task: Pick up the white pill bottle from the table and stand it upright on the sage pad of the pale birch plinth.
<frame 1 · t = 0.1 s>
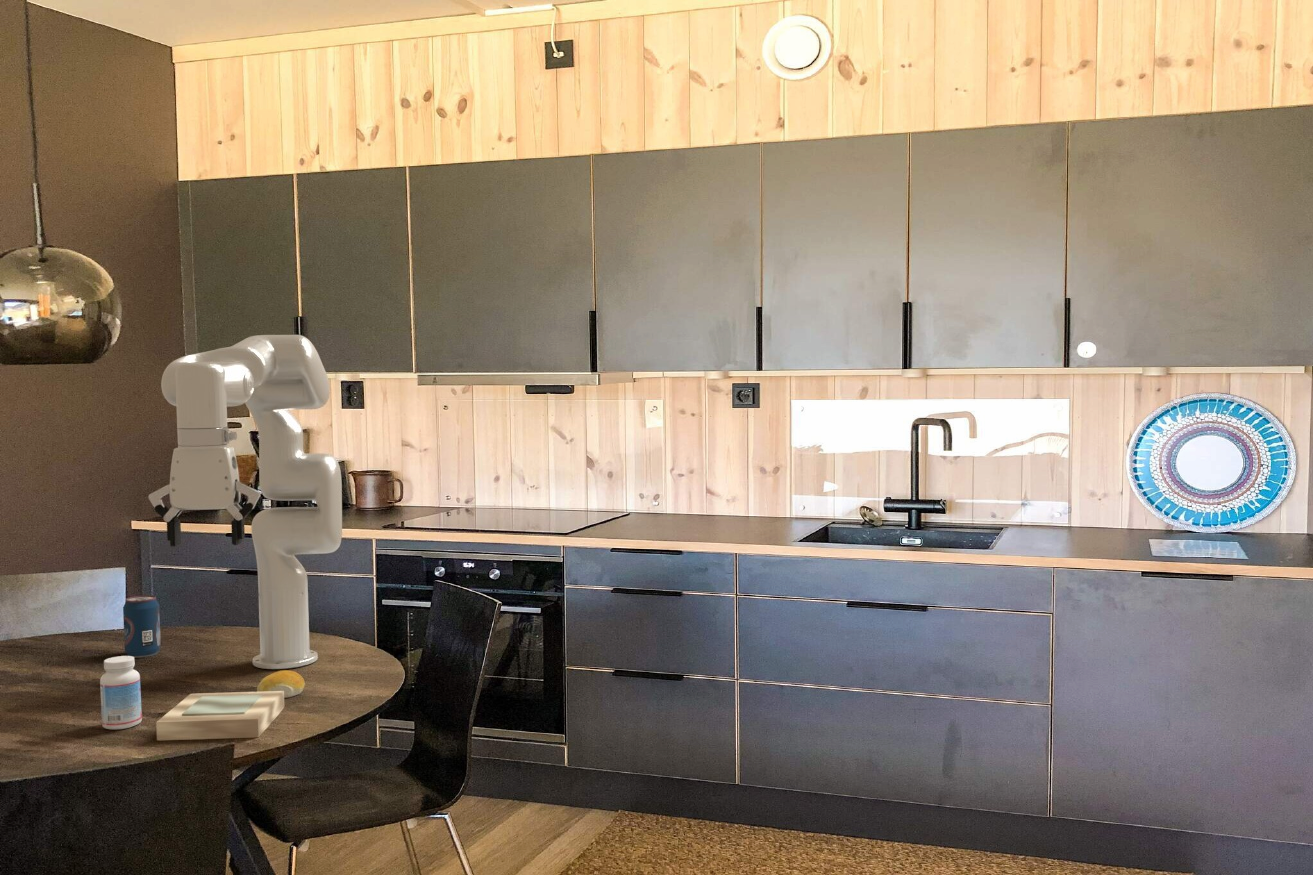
hand: (206, 544, 182), 31 cm above the table, fingers open, 9 cm apart
pill bottle: (122, 726, 189), on the table
birch plinth: (223, 723, 189), on the table
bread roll: (282, 694, 207), on the table
soda can: (143, 655, 236), on the table
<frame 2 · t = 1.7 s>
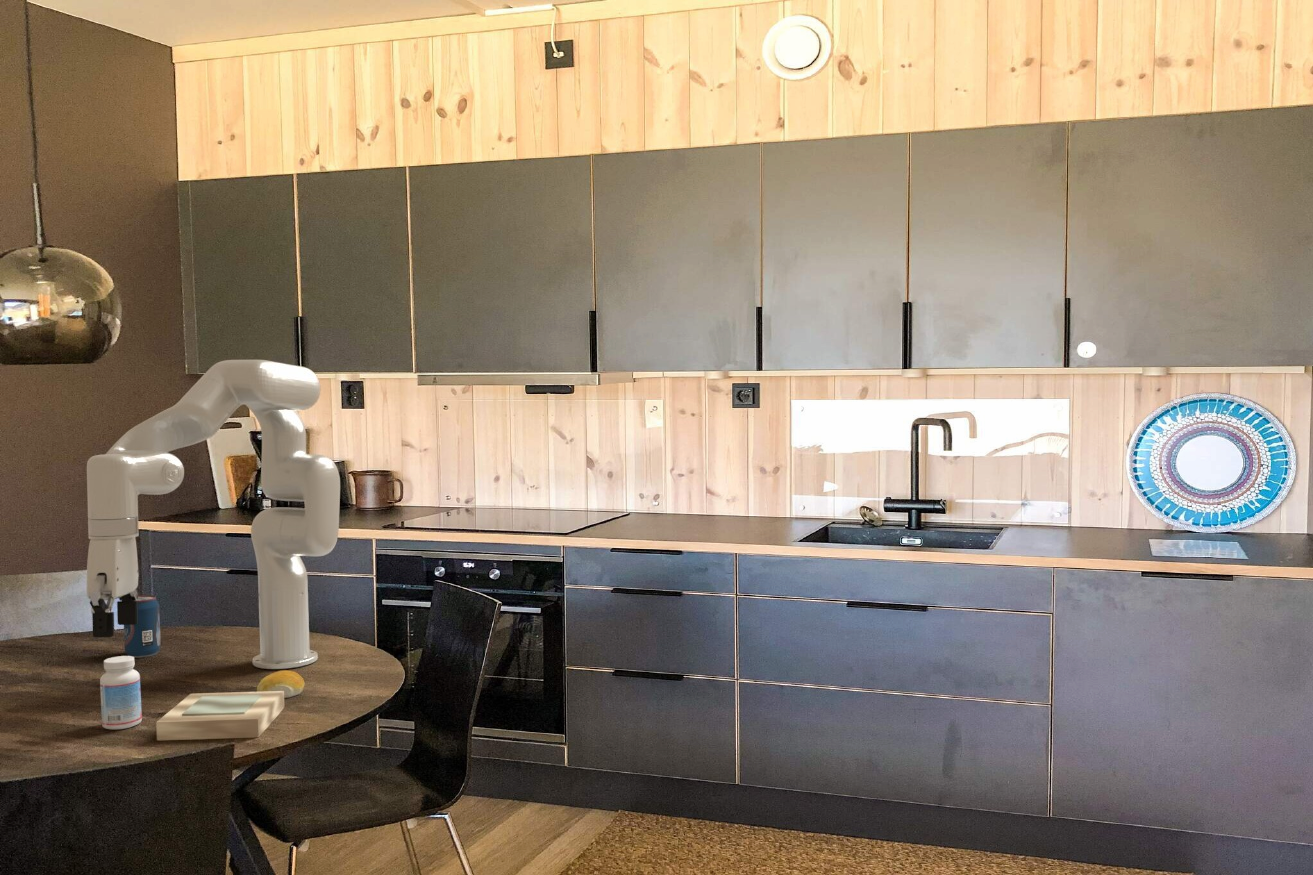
hand: (116, 630, 187), 16 cm above the table, fingers open, 9 cm apart
nothing on the table moved.
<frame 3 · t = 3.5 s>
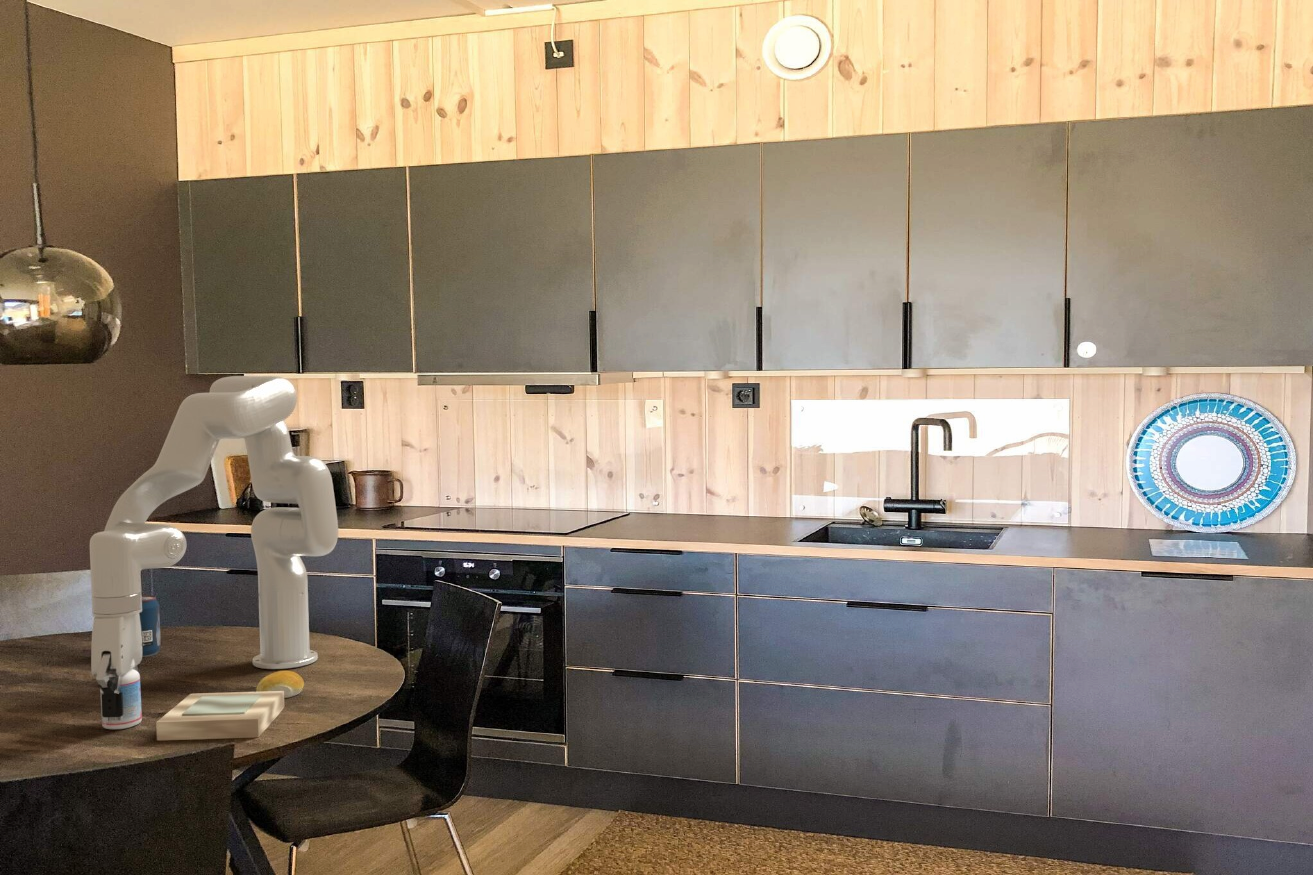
hand: (121, 709, 188), 3 cm above the table, fingers closed on pill bottle, 6 cm apart
pill bottle: (122, 725, 189), on the table, touching gripper
everything else where it was.
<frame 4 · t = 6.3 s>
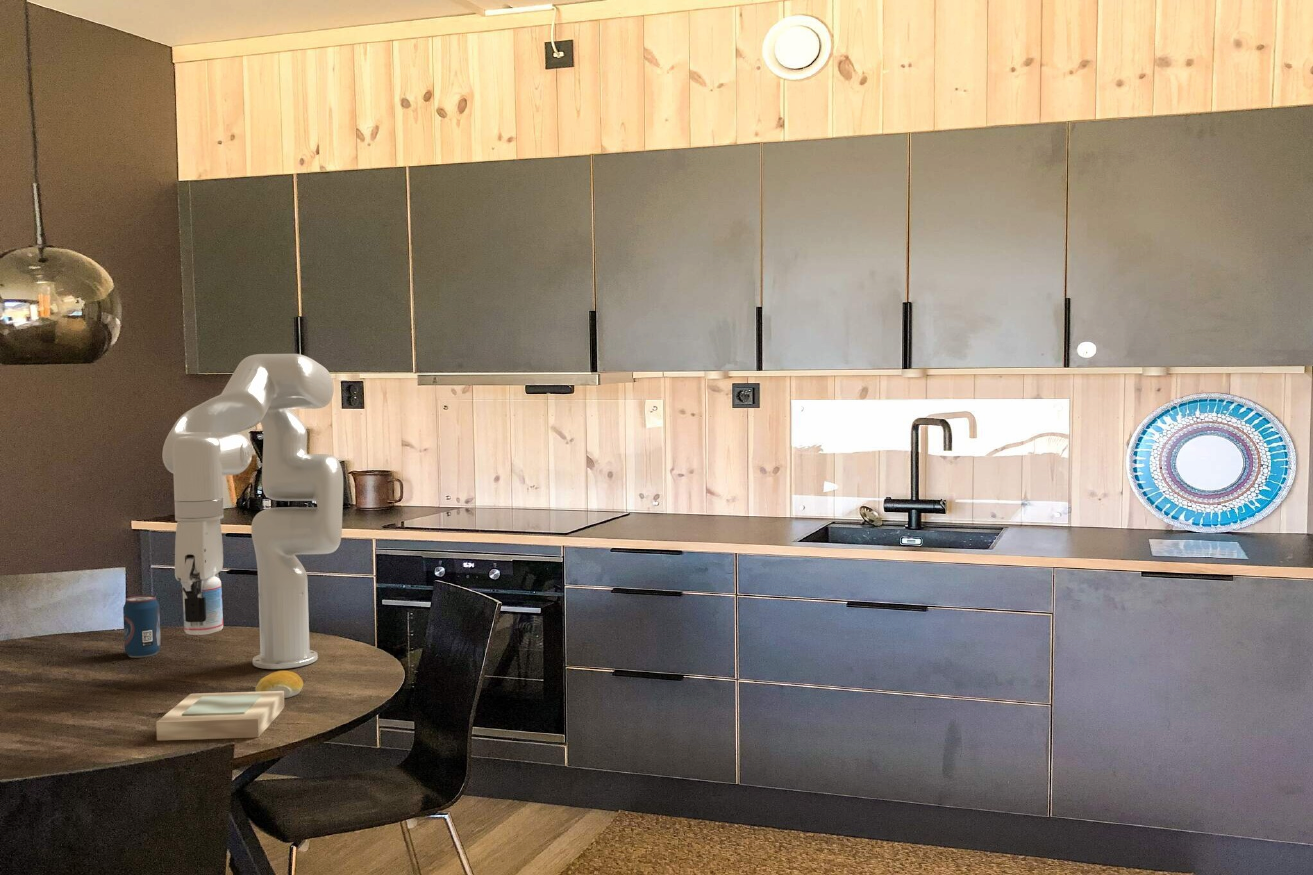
hand: (203, 615, 188), 18 cm above the table, fingers closed on pill bottle, 6 cm apart
pill bottle: (203, 632, 188), point 15 cm above the table, touching gripper
everything else where it was.
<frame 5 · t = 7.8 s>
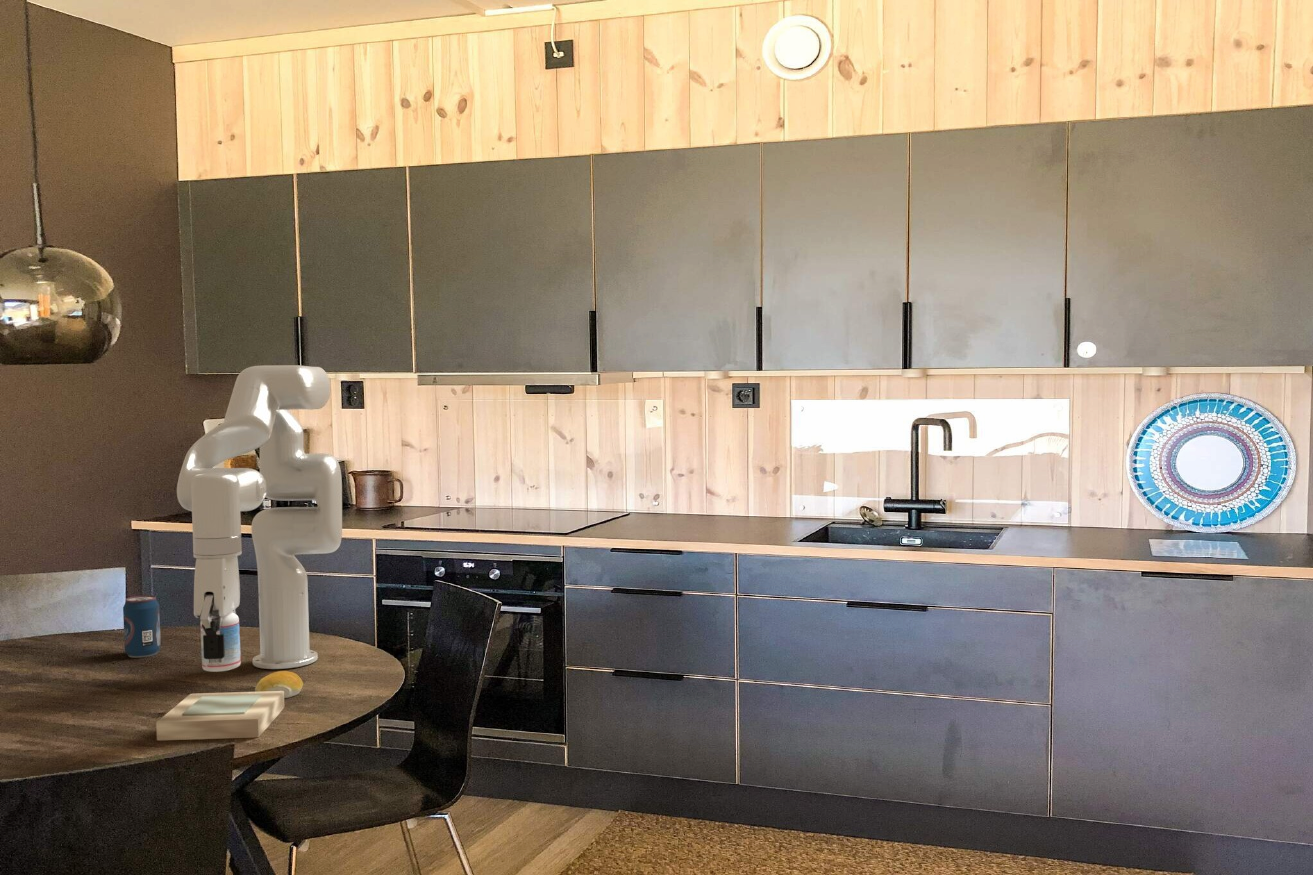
hand: (220, 652, 188), 12 cm above the table, fingers closed on pill bottle, 6 cm apart
pill bottle: (221, 668, 188), point 9 cm above the table, touching gripper
everything else where it was.
when the fingers open (7 cm above the table, at t = 9.1 s): pill bottle drops 1 cm, resting on birch plinth.
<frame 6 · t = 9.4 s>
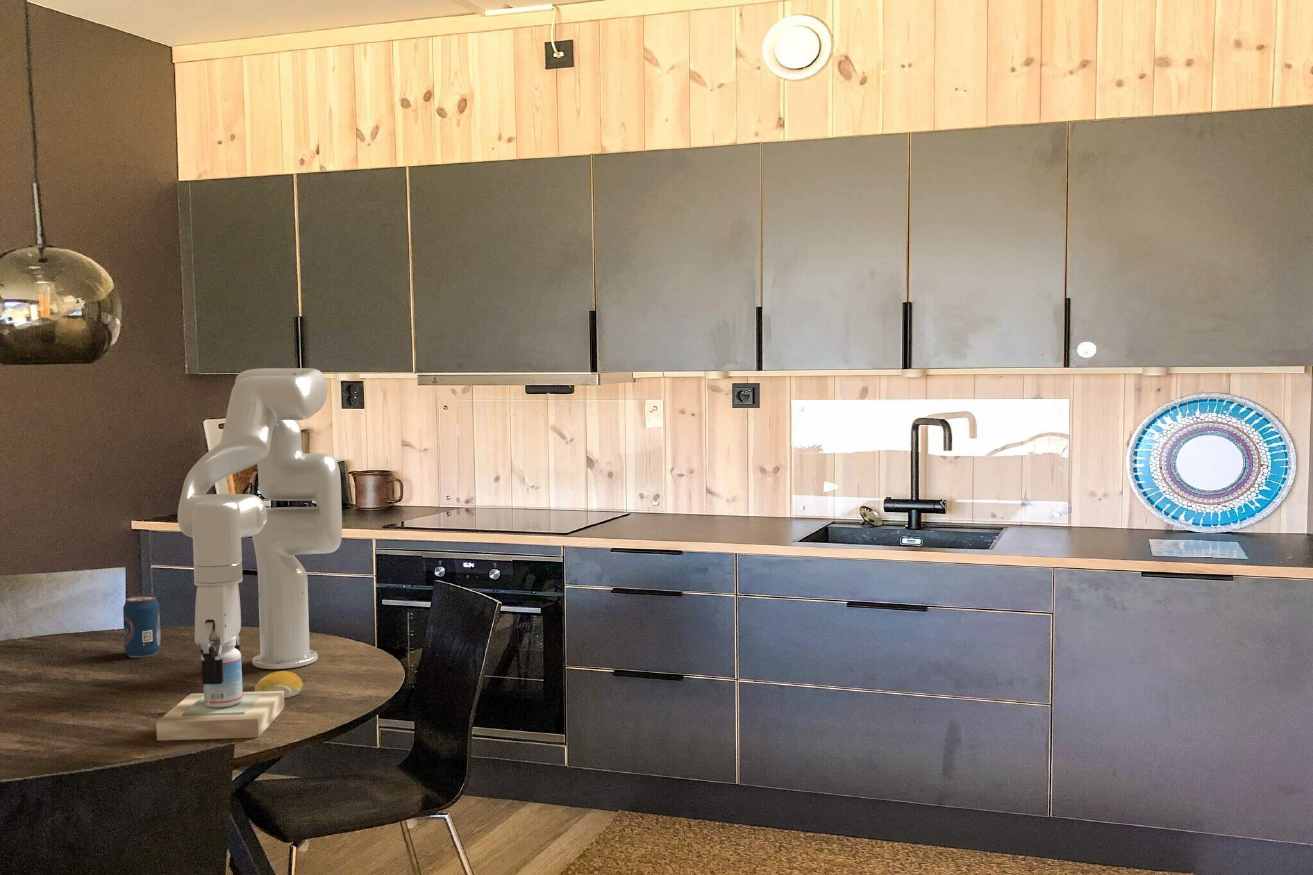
hand: (221, 675, 188), 8 cm above the table, fingers open, 8 cm apart
pill bottle: (223, 704, 189), point 3 cm above the table, touching birch plinth
everything else where it was.
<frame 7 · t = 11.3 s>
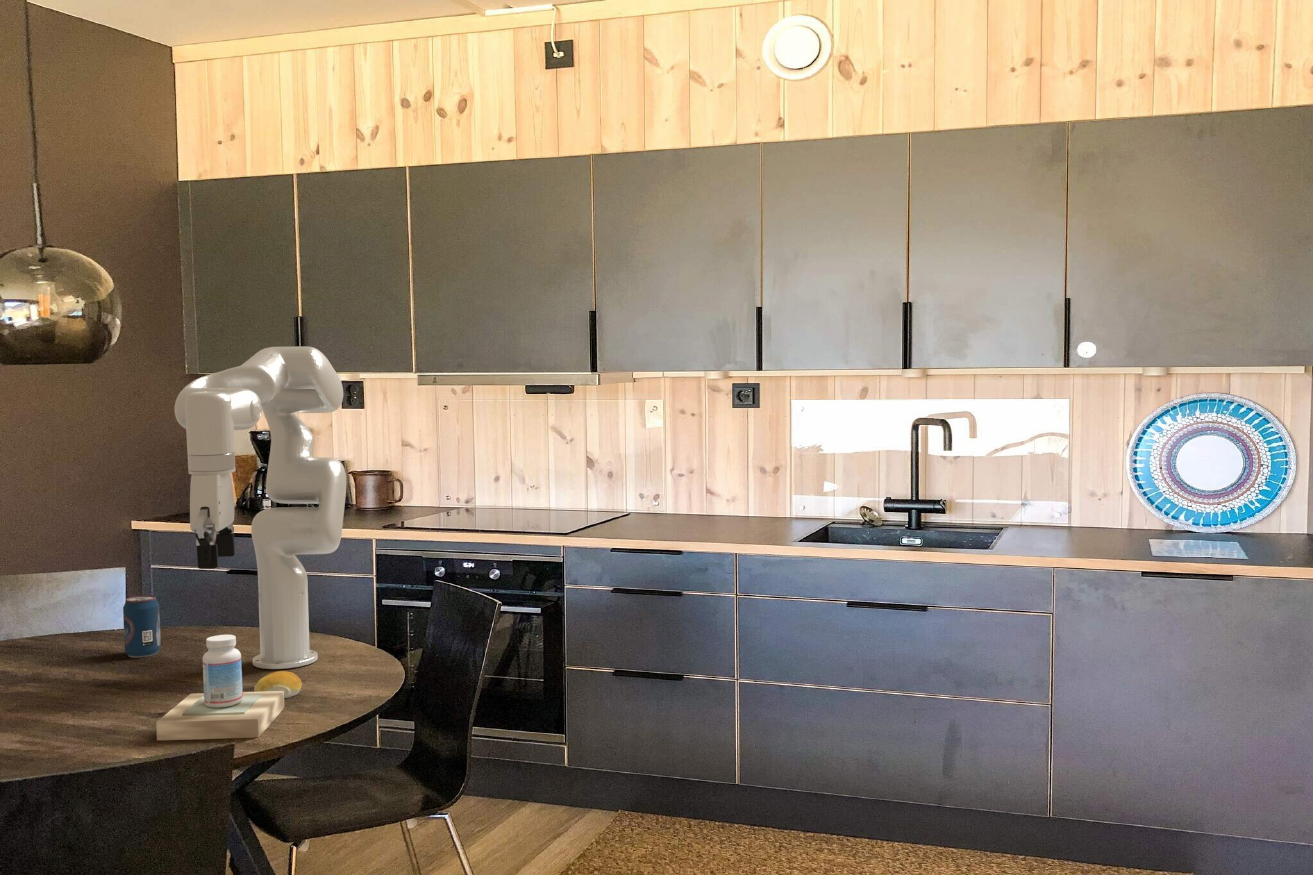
hand: (217, 562, 194), 26 cm above the table, fingers open, 9 cm apart
nothing on the table moved.
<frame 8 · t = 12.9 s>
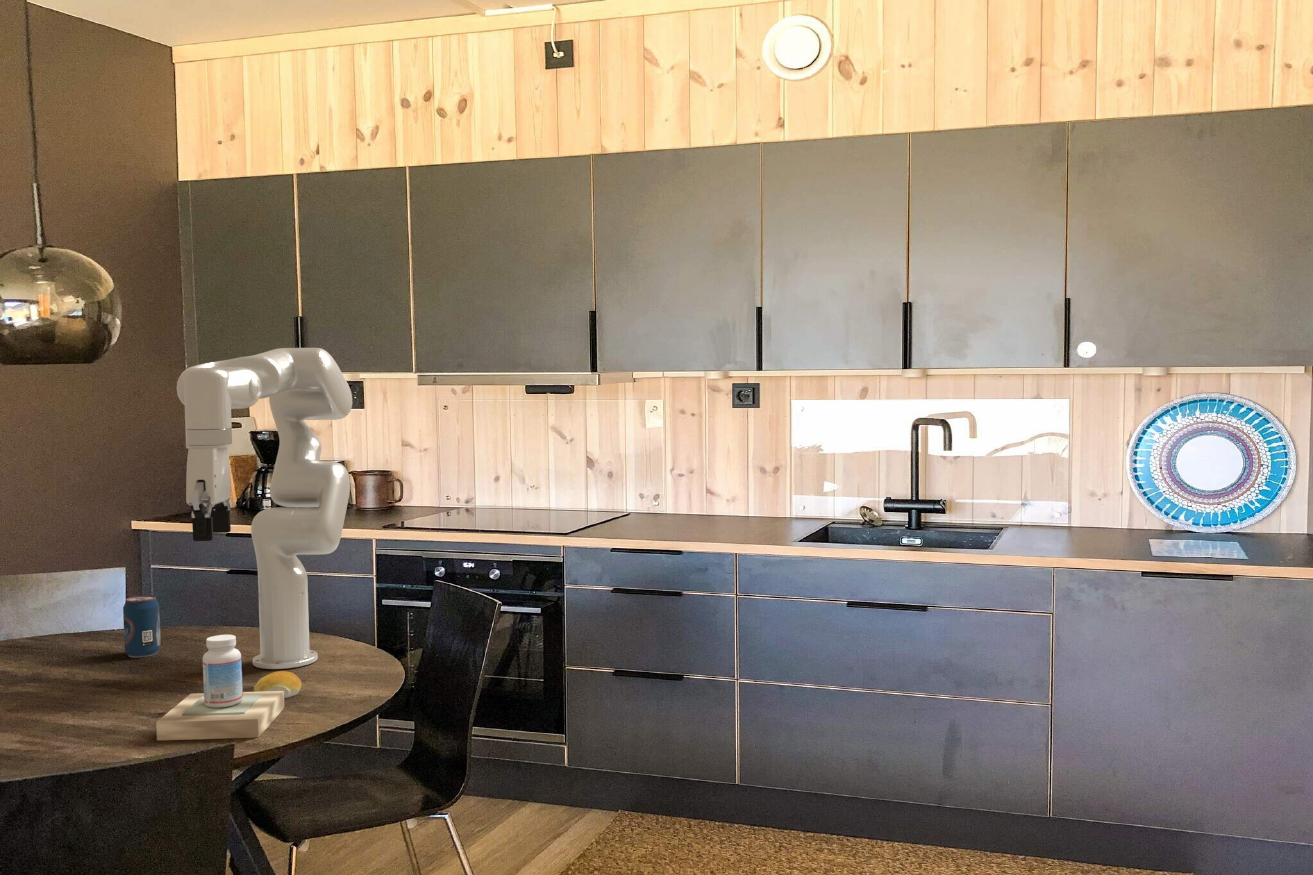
hand: (212, 536, 197), 30 cm above the table, fingers open, 9 cm apart
nothing on the table moved.
at the end: pill bottle inside the target area on the birch plinth (0.3 cm from its centre), point 3.1 cm above the birch plinth's base; pill bottle tilted 0°; the gripper is holding nothing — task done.
